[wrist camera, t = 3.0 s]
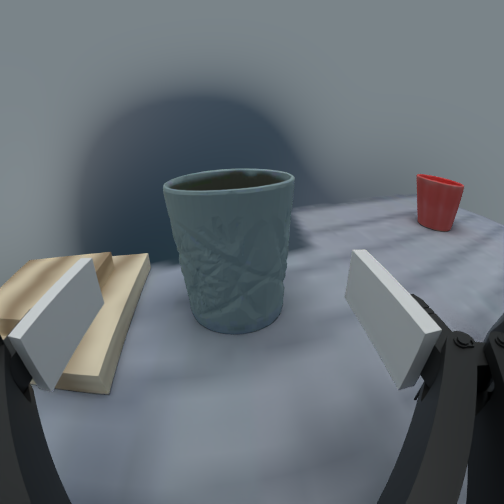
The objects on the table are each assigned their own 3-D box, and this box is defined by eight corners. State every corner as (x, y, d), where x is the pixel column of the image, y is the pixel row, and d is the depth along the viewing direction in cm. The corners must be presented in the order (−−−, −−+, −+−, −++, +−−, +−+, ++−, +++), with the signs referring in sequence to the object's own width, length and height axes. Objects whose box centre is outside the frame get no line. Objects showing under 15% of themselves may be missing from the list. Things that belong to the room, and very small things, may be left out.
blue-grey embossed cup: (291, 282, 29) (294, 168, 25) (289, 347, 20) (296, 188, 15) (200, 278, 31) (189, 170, 26) (166, 335, 22) (138, 192, 17)
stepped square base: (150, 267, 33) (145, 238, 32) (109, 394, 15) (86, 354, 14) (33, 276, 31) (25, 251, 29) (-38, 364, 13) (-57, 333, 11)
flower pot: (463, 229, 45) (470, 184, 41) (446, 238, 40) (454, 186, 36) (424, 215, 54) (429, 174, 50) (402, 221, 49) (407, 173, 45)
